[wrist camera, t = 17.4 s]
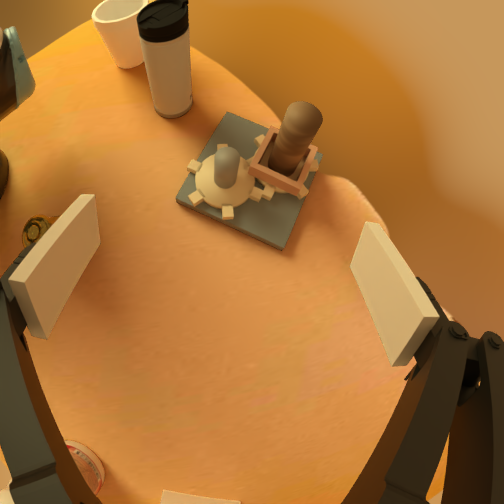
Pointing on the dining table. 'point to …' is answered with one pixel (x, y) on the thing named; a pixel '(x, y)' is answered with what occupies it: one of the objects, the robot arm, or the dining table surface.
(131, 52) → the foam cup
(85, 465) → the fruit juice
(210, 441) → the dining table surface
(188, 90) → the travel mug
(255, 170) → the gear board
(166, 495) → the milk
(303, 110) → the wooden dowel peg
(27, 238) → the salt shaker
